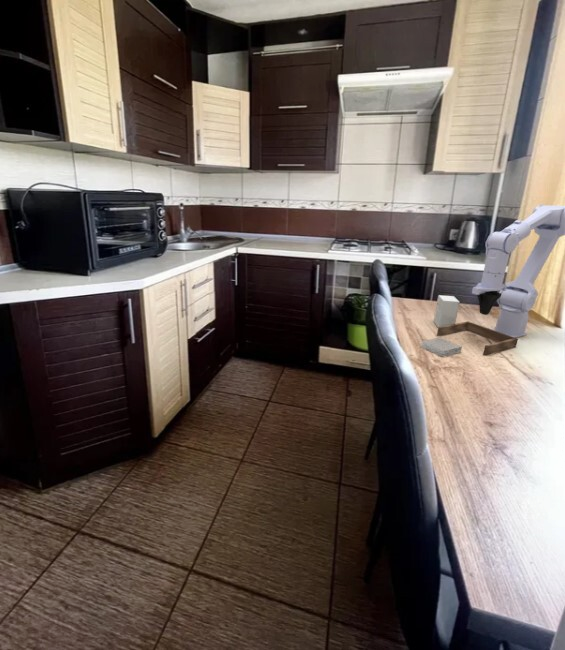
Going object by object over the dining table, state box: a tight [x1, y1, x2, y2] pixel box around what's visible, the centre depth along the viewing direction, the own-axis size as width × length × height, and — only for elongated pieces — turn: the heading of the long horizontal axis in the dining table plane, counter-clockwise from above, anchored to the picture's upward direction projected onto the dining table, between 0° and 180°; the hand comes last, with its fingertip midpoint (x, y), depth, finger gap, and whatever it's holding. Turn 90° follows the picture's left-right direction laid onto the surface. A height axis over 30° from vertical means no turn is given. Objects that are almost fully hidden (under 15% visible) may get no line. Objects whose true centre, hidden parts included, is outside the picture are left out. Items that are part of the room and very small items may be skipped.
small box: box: [433, 294, 461, 328], centre depth 126 cm, size 8×6×10 cm
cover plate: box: [420, 336, 463, 358], centre depth 106 cm, size 8×8×2 cm
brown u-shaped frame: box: [436, 321, 519, 356], centre depth 113 cm, size 15×18×3 cm
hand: (483, 313), depth 111 cm, fingers closed
